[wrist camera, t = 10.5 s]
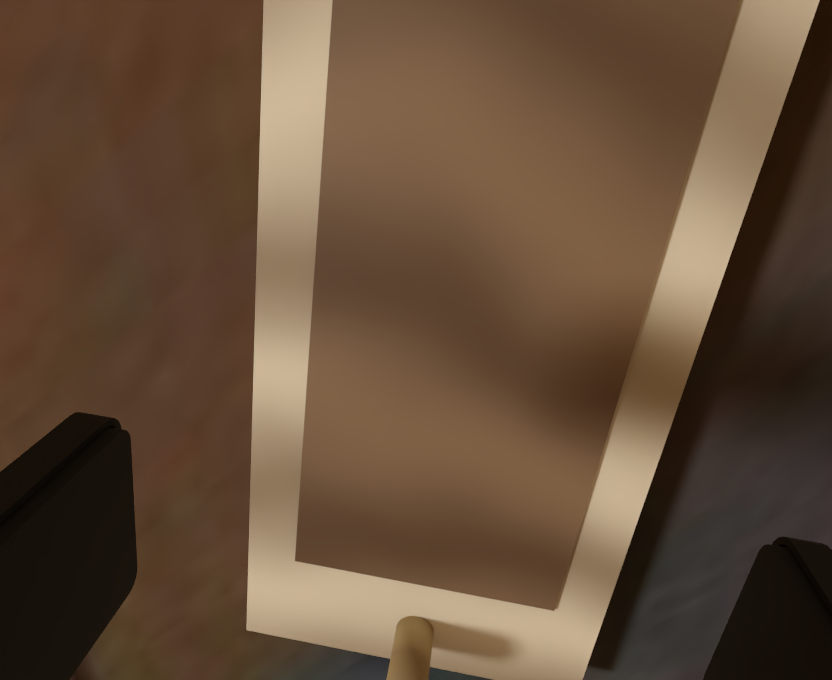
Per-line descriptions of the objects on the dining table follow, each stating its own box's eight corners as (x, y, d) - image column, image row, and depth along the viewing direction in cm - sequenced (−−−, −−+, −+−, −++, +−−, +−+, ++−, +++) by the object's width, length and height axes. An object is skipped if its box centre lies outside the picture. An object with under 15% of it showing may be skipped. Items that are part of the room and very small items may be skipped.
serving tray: (572, 663, 22) (586, 775, 18) (258, 602, 22) (216, 698, 19) (874, -236, 12) (1023, -353, 8) (293, -302, 12) (215, -435, 9)
